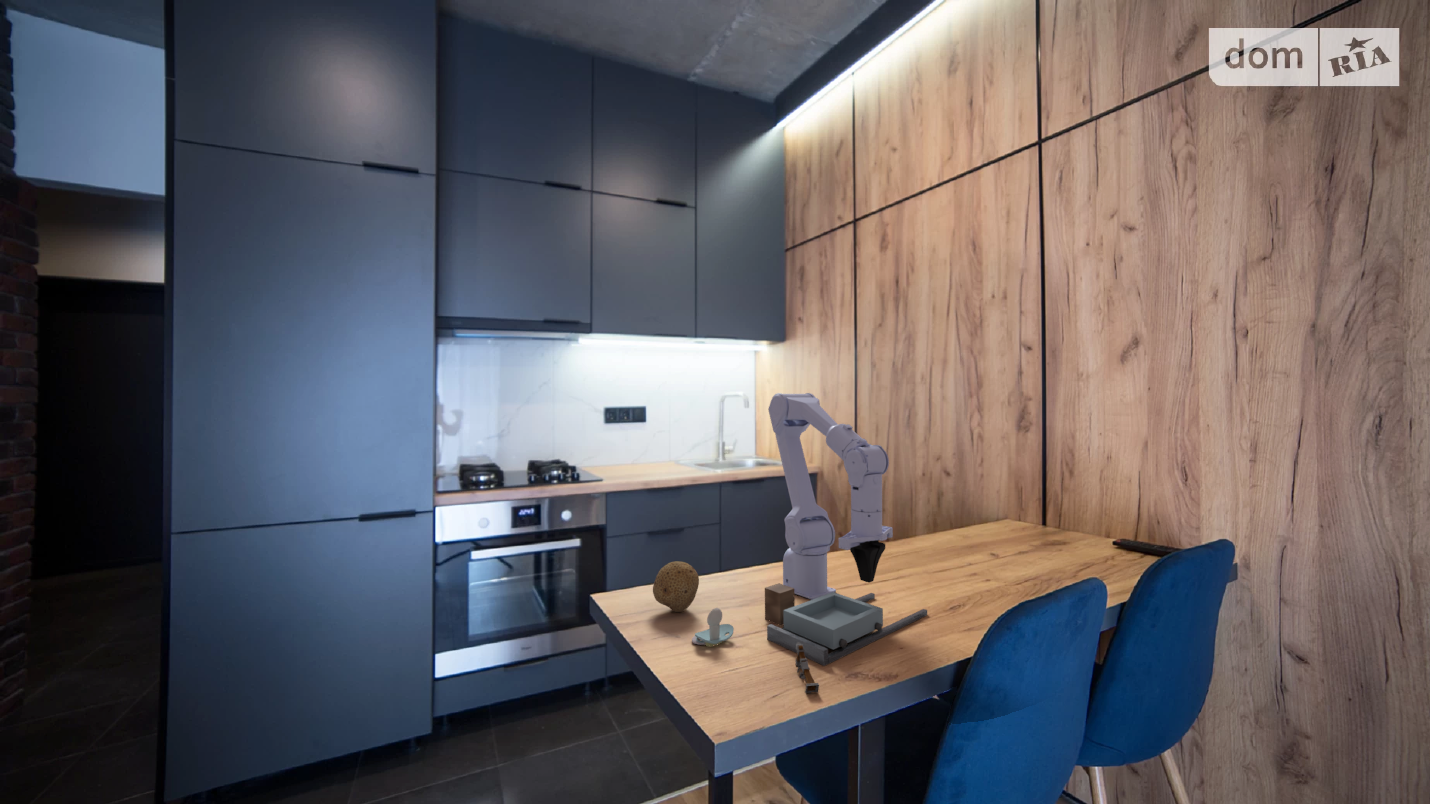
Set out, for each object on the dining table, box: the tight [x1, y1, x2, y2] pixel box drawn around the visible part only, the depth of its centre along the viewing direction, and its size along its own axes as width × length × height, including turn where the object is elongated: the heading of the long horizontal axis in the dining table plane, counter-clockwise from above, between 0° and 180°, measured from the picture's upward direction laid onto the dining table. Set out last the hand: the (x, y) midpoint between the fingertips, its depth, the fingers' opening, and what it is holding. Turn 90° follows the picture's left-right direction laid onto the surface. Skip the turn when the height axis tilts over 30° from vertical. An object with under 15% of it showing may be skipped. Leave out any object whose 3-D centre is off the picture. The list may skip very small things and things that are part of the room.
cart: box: [783, 592, 884, 651], centre depth 96 cm, size 12×14×3 cm
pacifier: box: [691, 607, 734, 647], centre depth 94 cm, size 7×6×6 cm
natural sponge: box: [652, 560, 700, 613], centre depth 107 cm, size 9×9×10 cm
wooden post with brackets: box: [795, 642, 820, 694], centre depth 81 cm, size 2×8×4 cm, turn 7°
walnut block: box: [764, 583, 796, 626], centre depth 103 cm, size 4×4×6 cm
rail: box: [766, 592, 928, 667], centre depth 99 cm, size 13×31×2 cm, turn 129°
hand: (866, 580), depth 103 cm, fingers closed
